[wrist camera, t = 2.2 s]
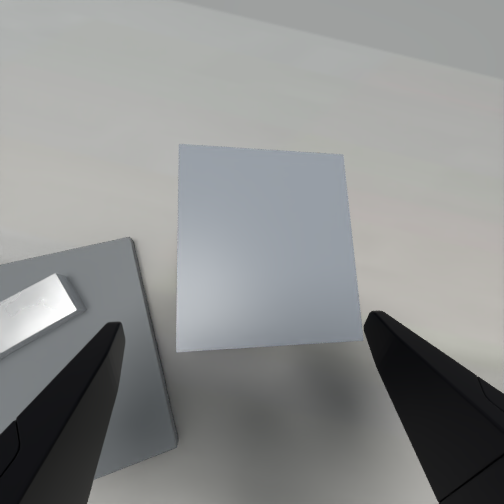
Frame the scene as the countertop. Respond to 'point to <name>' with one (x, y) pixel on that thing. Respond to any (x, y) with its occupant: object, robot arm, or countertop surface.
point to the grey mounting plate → (84, 342)
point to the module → (263, 250)
